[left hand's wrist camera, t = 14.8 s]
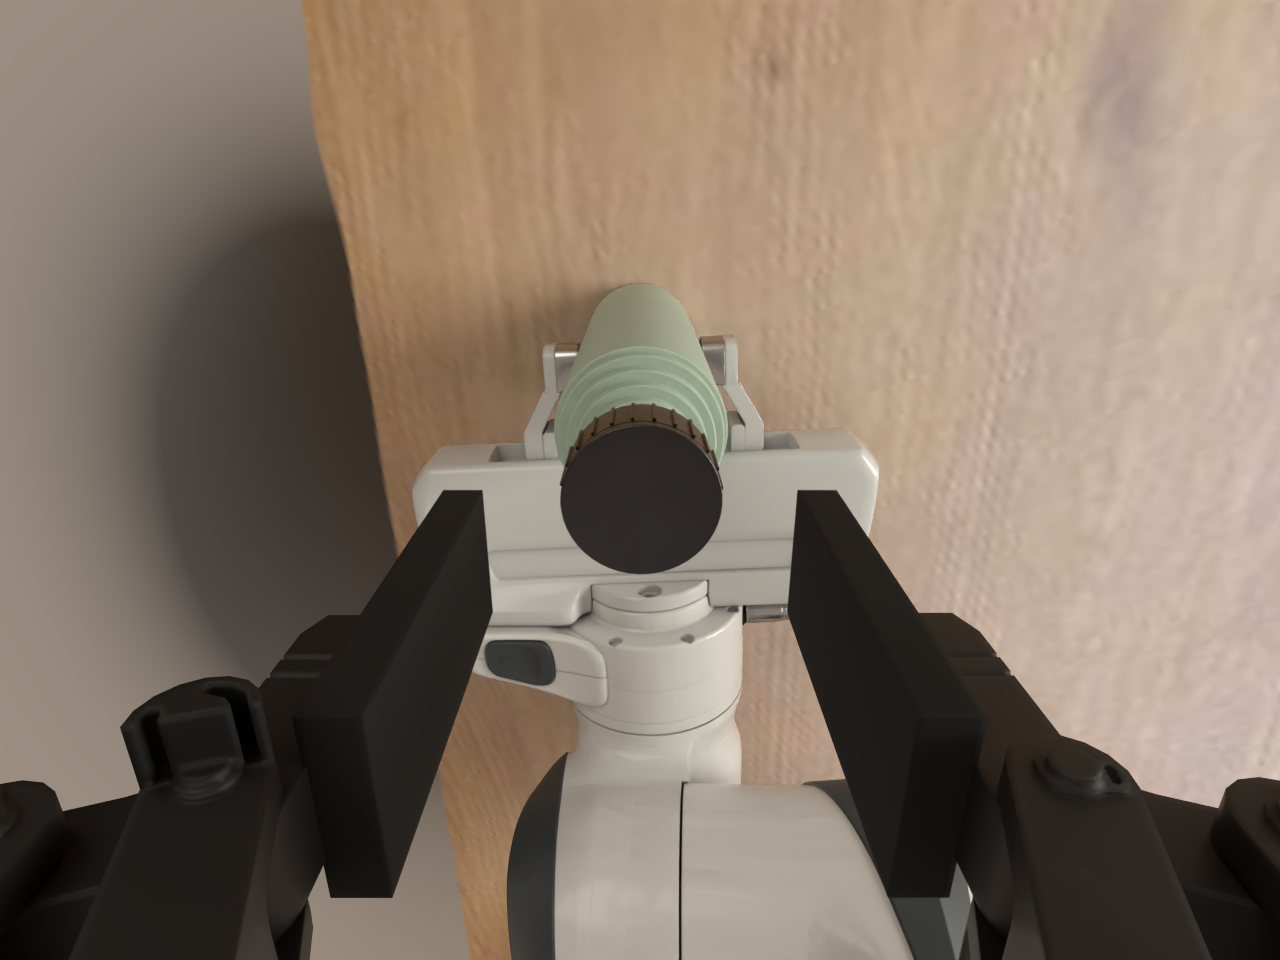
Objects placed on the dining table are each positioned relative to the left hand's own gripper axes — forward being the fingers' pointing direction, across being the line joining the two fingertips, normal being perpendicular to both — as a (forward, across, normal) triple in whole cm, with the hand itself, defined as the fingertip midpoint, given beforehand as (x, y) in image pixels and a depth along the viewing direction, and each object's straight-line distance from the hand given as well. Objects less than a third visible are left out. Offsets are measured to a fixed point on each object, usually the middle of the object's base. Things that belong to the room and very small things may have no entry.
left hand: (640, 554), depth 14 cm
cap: (+3, 0, 0) cm, 3 cm away
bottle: (+24, 0, 0) cm, 24 cm away
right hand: (+18, 0, -1) cm, 18 cm away
